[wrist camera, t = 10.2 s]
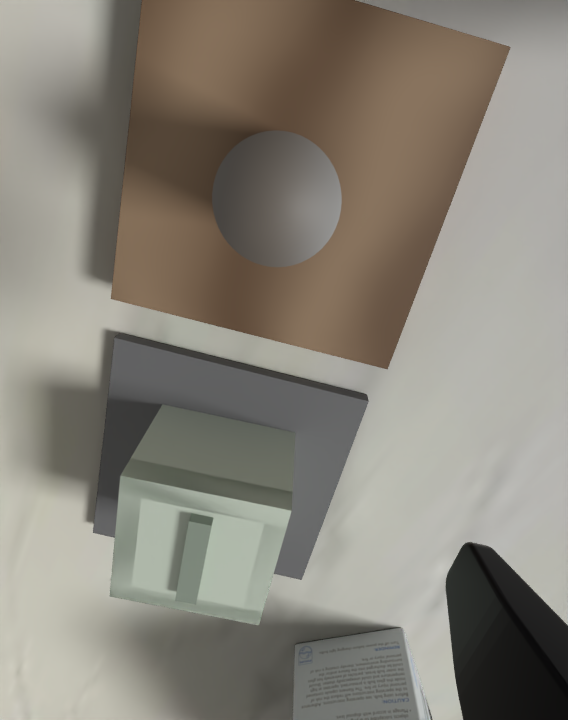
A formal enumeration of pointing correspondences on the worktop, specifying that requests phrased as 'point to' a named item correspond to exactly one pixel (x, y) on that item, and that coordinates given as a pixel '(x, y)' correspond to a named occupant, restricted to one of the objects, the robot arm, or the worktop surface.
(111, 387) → the mat
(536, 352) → the worktop surface
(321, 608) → the worktop surface
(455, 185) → the post stand
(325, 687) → the light bulb box
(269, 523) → the sage cube with ridge
